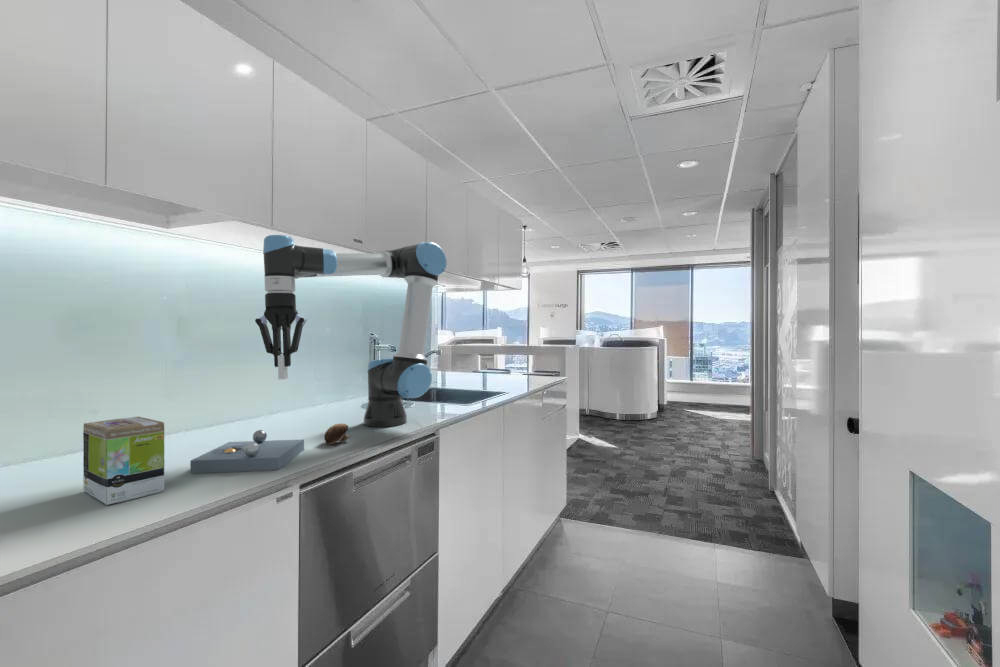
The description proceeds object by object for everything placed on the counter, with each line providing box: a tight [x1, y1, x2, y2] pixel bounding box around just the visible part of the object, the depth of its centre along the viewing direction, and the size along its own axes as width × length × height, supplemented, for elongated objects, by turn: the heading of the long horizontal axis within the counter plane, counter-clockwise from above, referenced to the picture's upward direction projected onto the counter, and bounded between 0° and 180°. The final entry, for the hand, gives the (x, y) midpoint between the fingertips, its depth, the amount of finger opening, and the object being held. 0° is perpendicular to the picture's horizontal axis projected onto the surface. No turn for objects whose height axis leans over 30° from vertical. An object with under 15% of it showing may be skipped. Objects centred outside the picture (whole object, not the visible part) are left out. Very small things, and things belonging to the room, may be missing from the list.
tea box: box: [82, 416, 166, 506], centre depth 94 cm, size 15×10×15 cm, turn 56°
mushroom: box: [323, 423, 350, 445], centre depth 133 cm, size 8×8×6 cm
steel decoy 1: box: [244, 442, 260, 457], centre depth 109 cm, size 3×3×3 cm
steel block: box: [252, 429, 268, 443], centre depth 123 cm, size 3×3×3 cm
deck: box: [189, 439, 305, 474], centre depth 116 cm, size 20×18×3 cm
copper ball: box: [224, 448, 236, 452], centre depth 115 cm, size 3×3×3 cm
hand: (283, 378), depth 123 cm, fingers closed
